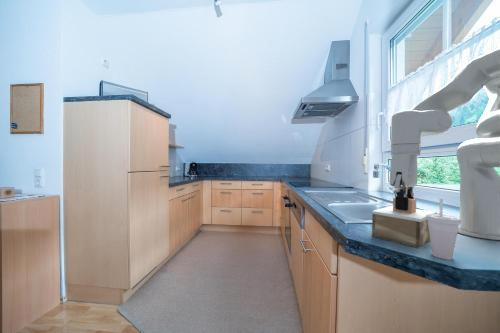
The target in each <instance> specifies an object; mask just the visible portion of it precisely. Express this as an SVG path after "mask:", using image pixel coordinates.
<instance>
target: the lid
mask: <svg viewBox="0 0 500 333" xmlns="http://www.w3.org/2000/svg"><path fill="white" fill-rule="evenodd" d="M395 200H396V197H392V205H390V206H385V207H382V208H378V209H374V210H372V211H371V215H372V214H378V215H383V216H389V217H395V218H401V219H406V220H412V221H418V222H422V221H424V220H426V215H427V214H438V212H437V211H432V210H427V209H426V210H425V209H418V208H417V199H416V198H414V199H409V198H408V210H407V211H405V210H398V209H396V208H395Z"/></svg>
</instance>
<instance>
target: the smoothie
mask: <svg viewBox="0 0 500 333" xmlns="http://www.w3.org/2000/svg"><path fill="white" fill-rule="evenodd" d="M443 200H444V199H443V198H439V213H437V214H427V215H426V219H427V220H428V227H429V234H430V241H429V242H430V246H431V247H430V248H431V254H432V256H434V257H436V258H438V259H443V260H448V261H449V260H453V258H454V252H455V248H456V242H457V236H458V227H459V226H460V224H461V219H460V217H457V216H452V215H447V214H443V207H444V206H443V202H444V201H443Z"/></svg>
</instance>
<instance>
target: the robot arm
mask: <svg viewBox="0 0 500 333" xmlns="http://www.w3.org/2000/svg"><path fill="white" fill-rule="evenodd" d="M483 88H484V89H485V92H486V93H487V96H488V98H489V100H488V103H487V106H486V108H485V110H484V111H483V114H481V117H480V119H479V120H478V123H477V124H476V128H475V133H476V135H477V136H478V137H479V138H474V139H469V140H466V141H464V142H462V143H461V144H460V145H458V147H457V149H456V154H455V155H456V160H457V164H458V167H459V218H460V219H461V224H459V227H458V232H457V234H458V233H459V234H462V235H463V236H464V235H465V236H468V237H472V238H478V239H484V240H485V239H486V240H492V241H500V175H499V173H498V172H497V171H496V170H495V168H500V47H499V48H496V49H494V50H492V51H489V52H487V53H485V54H483V55H480V56H478V57H475V58H473V59H472V60H469V61H468V62H467V63H466V64H464V66H462V67H461V69H459V71H458V72H456V73H455V75H454V76H453V77H452V78H451V79H450V80H448V82H447V83H446V84H445V85H444V86H442V88H440V89H438V90H437V91H435V92H434V93H432V94H431V95H429V96H428V97H427V98H425V99H423V100H422V101H421V102H419V103H418V104H416V105H415V106H414V107H413V108H412V109H405V110H401V111H397V112H395V113H393V114H392V115H391V125H390V126H391V129H390V130H391V132H390V133H391V134H390V143H391V144H390V156H391V160H390V170H389V171H390V172H389V185H390V186H391V187H393V188H394V191H395V195H394V196H395V198H396V200H395V208H396V209H398V210H405V211H407V210H408V198H409V199H415V198H414V194H415V193H414V191H415V190H414V188H415V186H417V184H418V177H419V176H418V158H417V157H418V156H421V153H422V152H421V149H422V148H421V147H422V146H421V139H422V137H428V136H434V135H440V134H443V133H445V132H447V131H449V130H450V129H451V127H452V125H453V122H454V119H453V116H452V114H451V113H450V112H451V111H454V110H455V109H458V108H459V107H462V106H463V105H466V104H467V103H469V102H470V101H471V100H473V99H474V97H475V96H476V95H477V94H478V93H479V92H480V91H481V90H482V89H483Z"/></svg>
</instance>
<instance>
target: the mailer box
mask: <svg viewBox="0 0 500 333" xmlns="http://www.w3.org/2000/svg"><path fill="white" fill-rule="evenodd" d="M371 215H372V216H371V221H372V223H371V237H374V238H379V239H382V240H387V241H390V242H395V243H396V244H397V243H398V244H401V245H406V246H409V247H413V248H418V249H420V248H422V247H423V246H424V245H426V244H427V243H429V242H430V234H429V227H428V220H427V219H426V220H424V221H422V222H418V221H412V220H406V219H401V218H395V217H389V216H383V215H378V214H372V213H371Z"/></svg>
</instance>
